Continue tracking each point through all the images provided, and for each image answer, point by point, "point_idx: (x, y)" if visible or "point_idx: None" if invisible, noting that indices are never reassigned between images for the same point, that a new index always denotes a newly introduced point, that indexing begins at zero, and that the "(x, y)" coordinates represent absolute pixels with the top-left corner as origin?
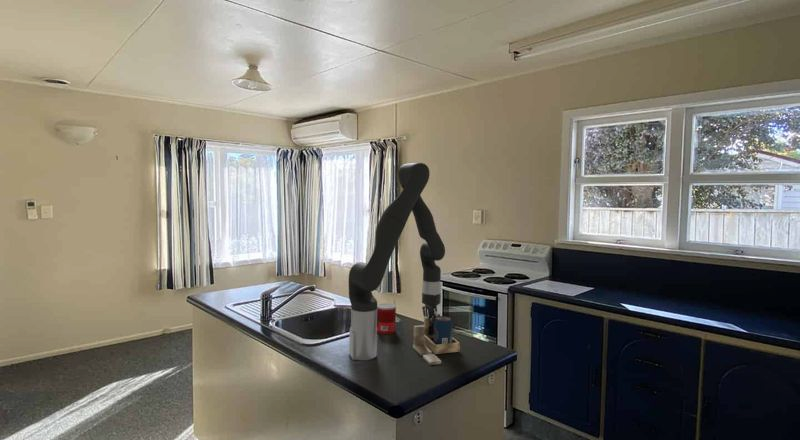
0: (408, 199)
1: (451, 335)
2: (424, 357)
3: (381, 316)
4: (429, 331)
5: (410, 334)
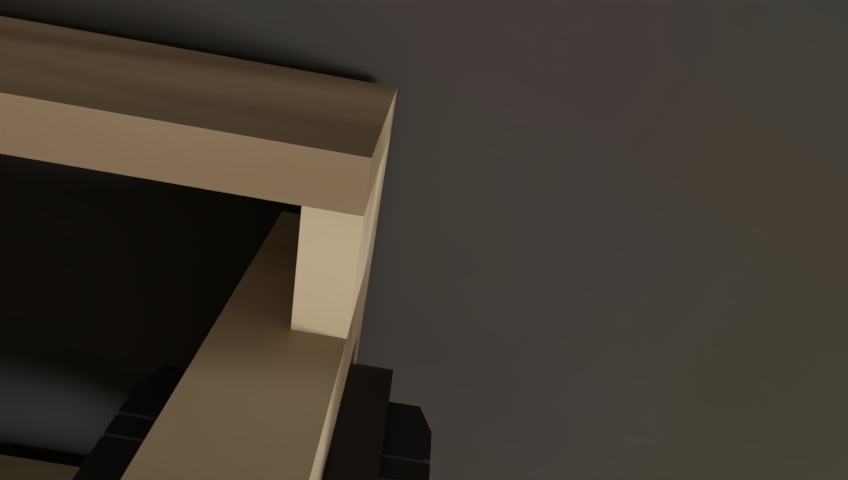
0: None
1: None
2: None
3: None
4: None
5: (770, 71)
